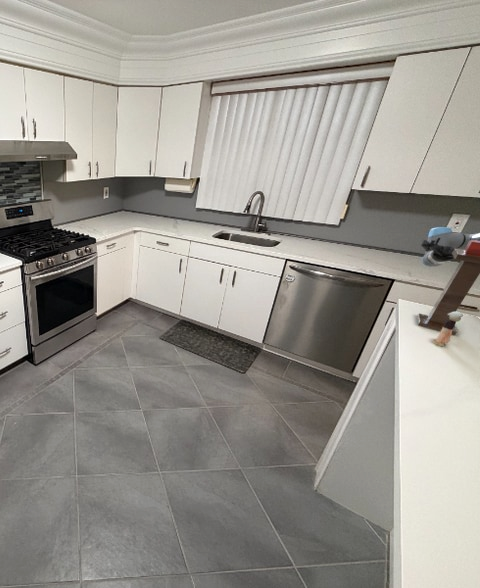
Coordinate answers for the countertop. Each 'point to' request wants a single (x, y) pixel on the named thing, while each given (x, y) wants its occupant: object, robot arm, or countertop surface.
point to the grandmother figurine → (448, 328)
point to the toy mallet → (473, 248)
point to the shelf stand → (453, 291)
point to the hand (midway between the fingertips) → (459, 244)
